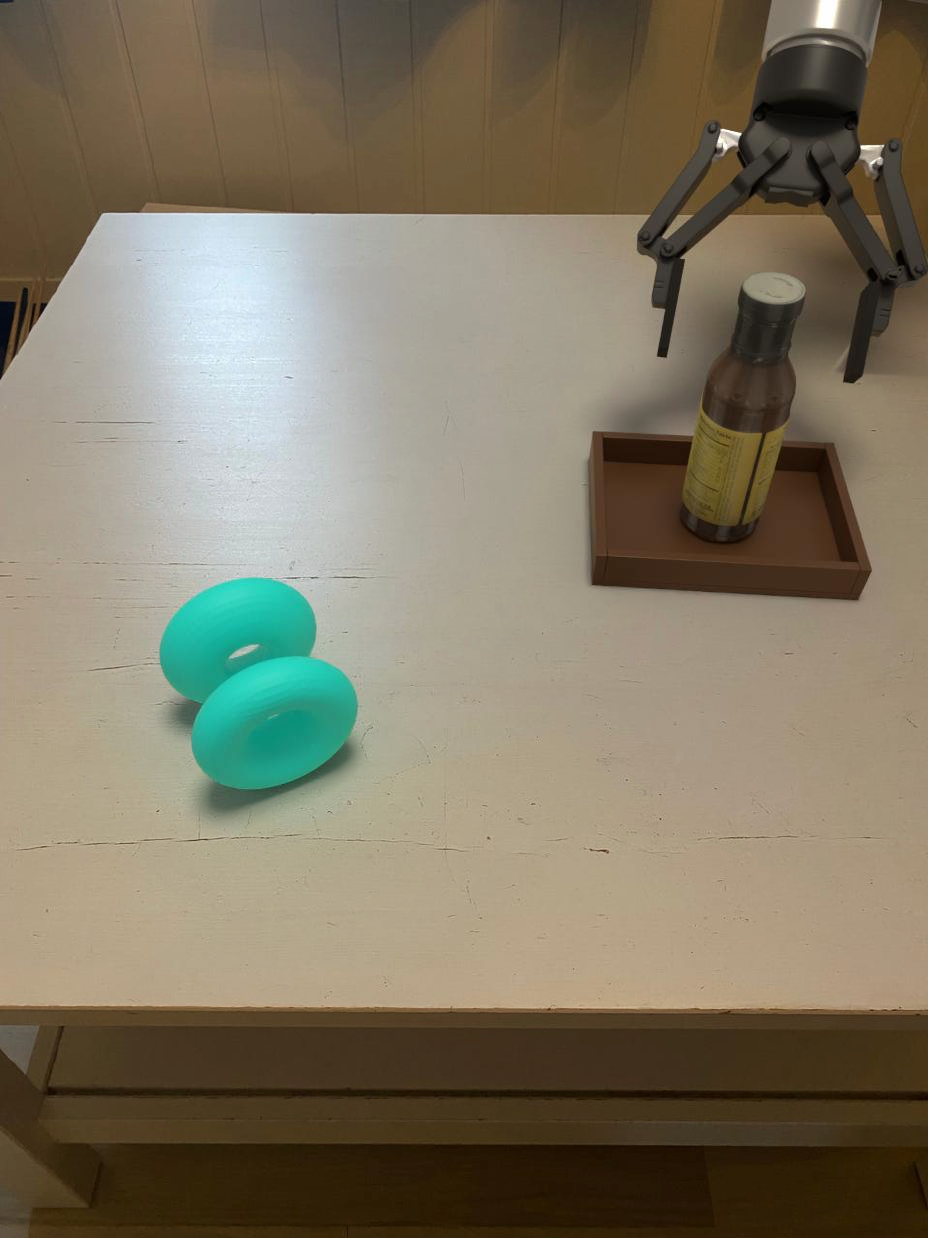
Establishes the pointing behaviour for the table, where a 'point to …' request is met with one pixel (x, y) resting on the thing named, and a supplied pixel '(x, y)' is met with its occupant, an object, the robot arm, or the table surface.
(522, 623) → the table surface
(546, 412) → the table surface
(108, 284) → the table surface
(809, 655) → the table surface
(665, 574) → the serving tray
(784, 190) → the robot arm
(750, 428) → the sauce bottle
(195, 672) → the donuts
